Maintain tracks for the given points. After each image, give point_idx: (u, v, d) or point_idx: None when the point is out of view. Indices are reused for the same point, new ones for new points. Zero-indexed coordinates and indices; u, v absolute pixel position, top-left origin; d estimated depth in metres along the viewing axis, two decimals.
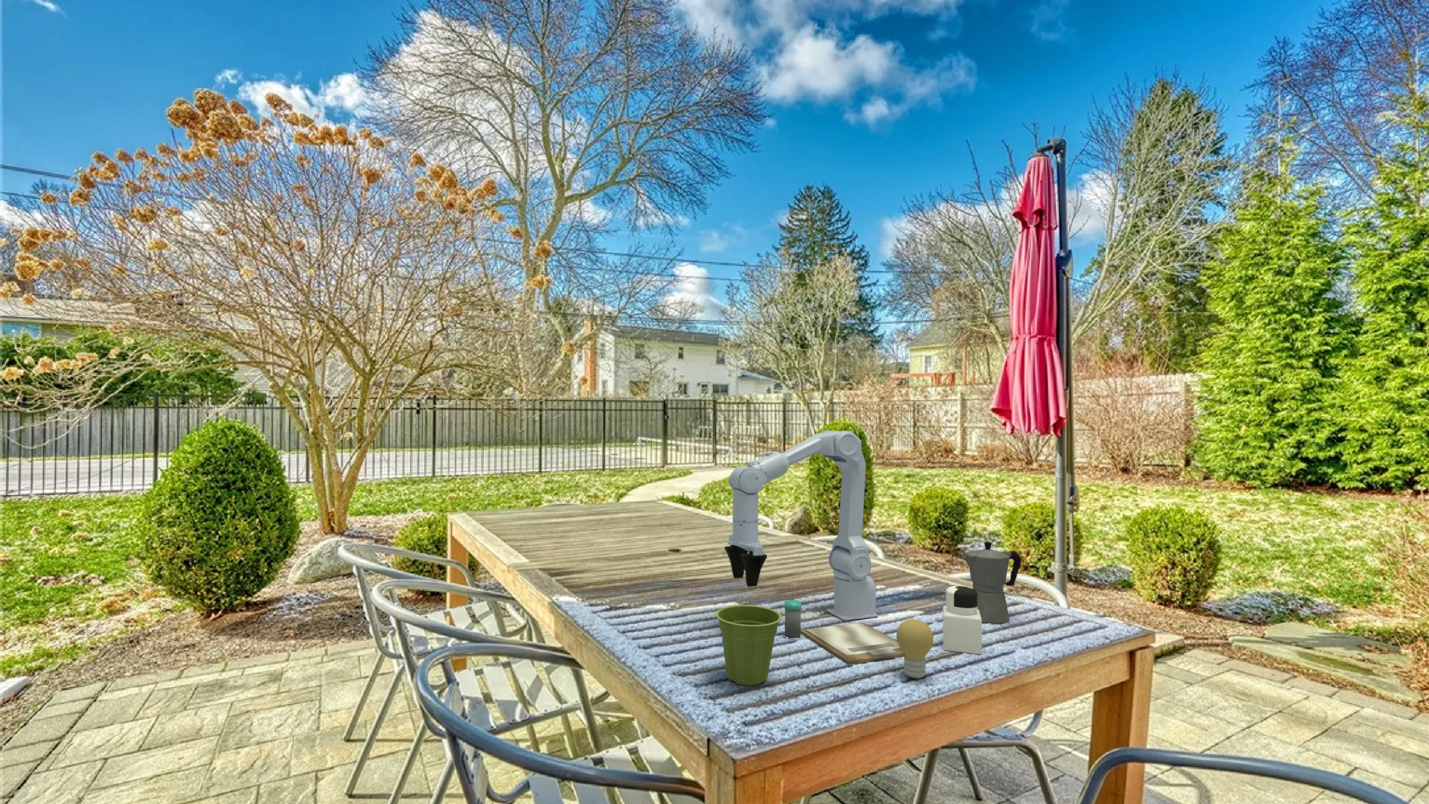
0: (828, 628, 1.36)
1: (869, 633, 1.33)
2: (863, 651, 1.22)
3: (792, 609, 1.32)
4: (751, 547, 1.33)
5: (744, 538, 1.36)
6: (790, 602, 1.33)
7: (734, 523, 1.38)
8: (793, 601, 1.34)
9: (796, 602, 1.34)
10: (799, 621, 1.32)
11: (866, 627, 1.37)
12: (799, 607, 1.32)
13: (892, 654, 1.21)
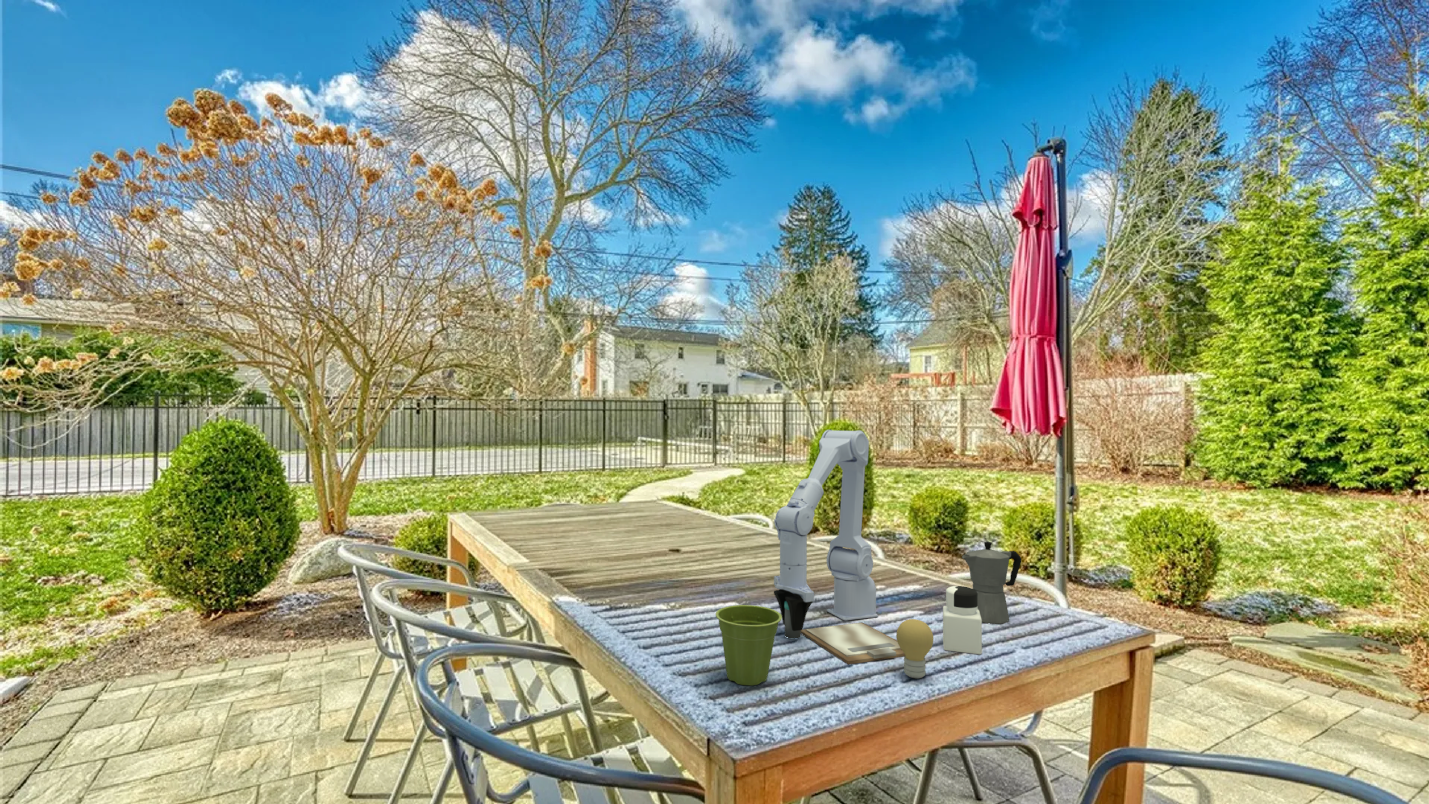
0: (828, 628, 1.36)
1: (869, 633, 1.33)
2: (863, 651, 1.22)
3: None
4: (801, 593, 1.28)
5: (793, 582, 1.31)
6: None
7: (782, 566, 1.32)
8: None
9: None
10: None
11: (866, 627, 1.37)
12: None
13: (892, 654, 1.21)
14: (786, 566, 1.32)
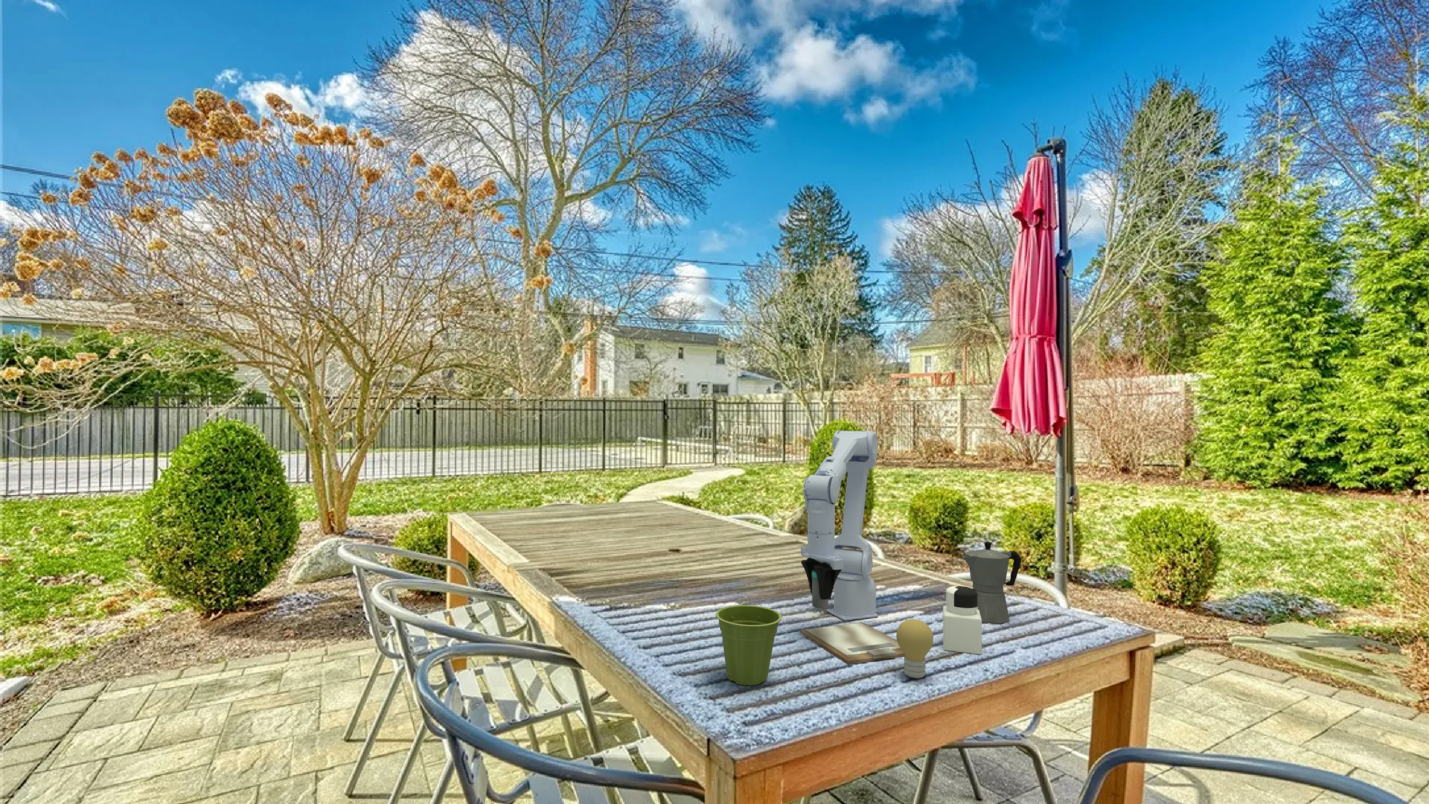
0: (828, 628, 1.36)
1: (869, 633, 1.33)
2: (863, 651, 1.22)
3: None
4: (830, 560, 1.26)
5: (822, 550, 1.30)
6: None
7: (810, 535, 1.31)
8: None
9: None
10: None
11: (866, 627, 1.37)
12: None
13: (892, 654, 1.21)
14: (814, 534, 1.30)
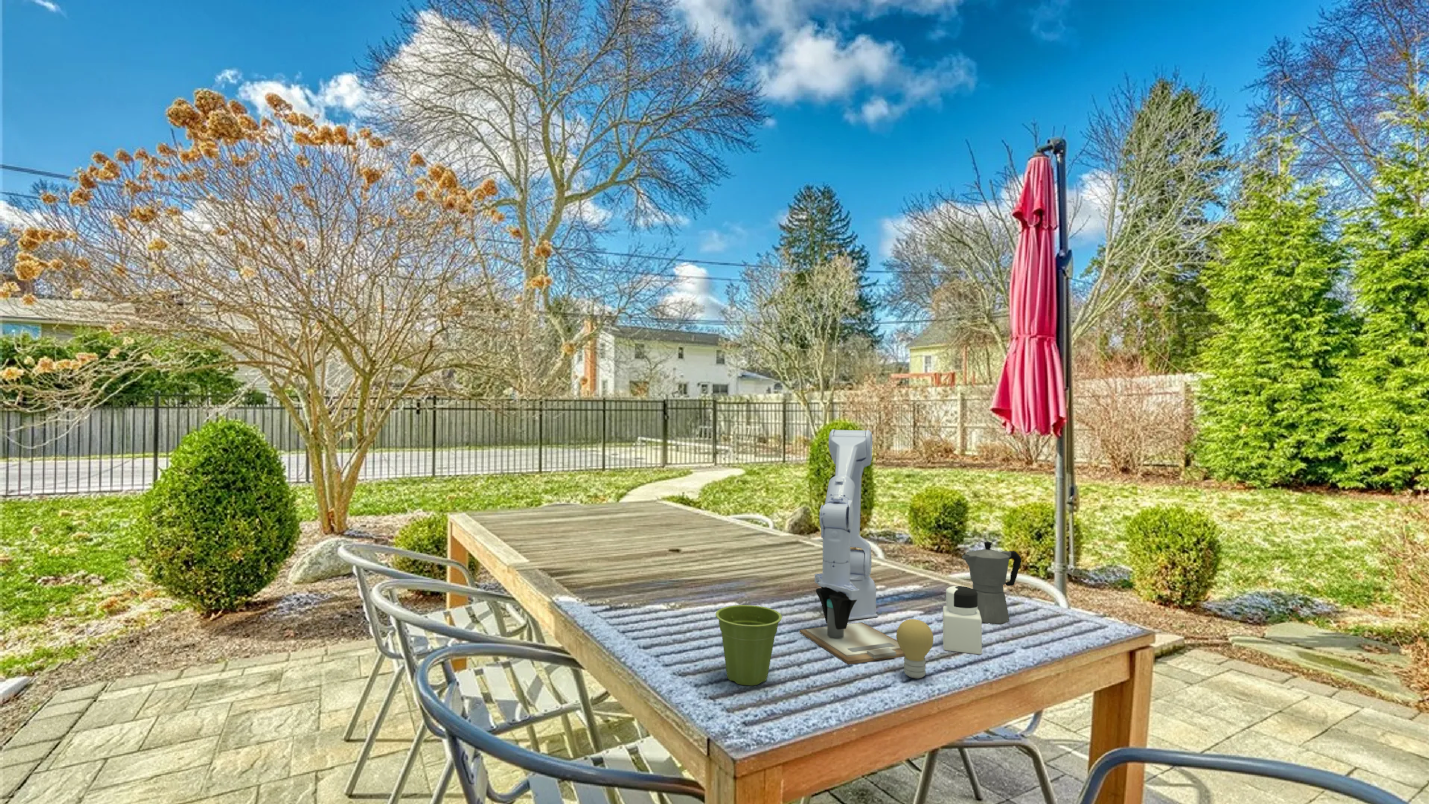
0: None
1: (869, 633, 1.33)
2: (863, 651, 1.22)
3: None
4: (847, 591, 1.25)
5: (837, 580, 1.28)
6: None
7: (825, 563, 1.30)
8: None
9: None
10: None
11: (866, 627, 1.37)
12: None
13: (892, 654, 1.21)
14: (830, 563, 1.29)
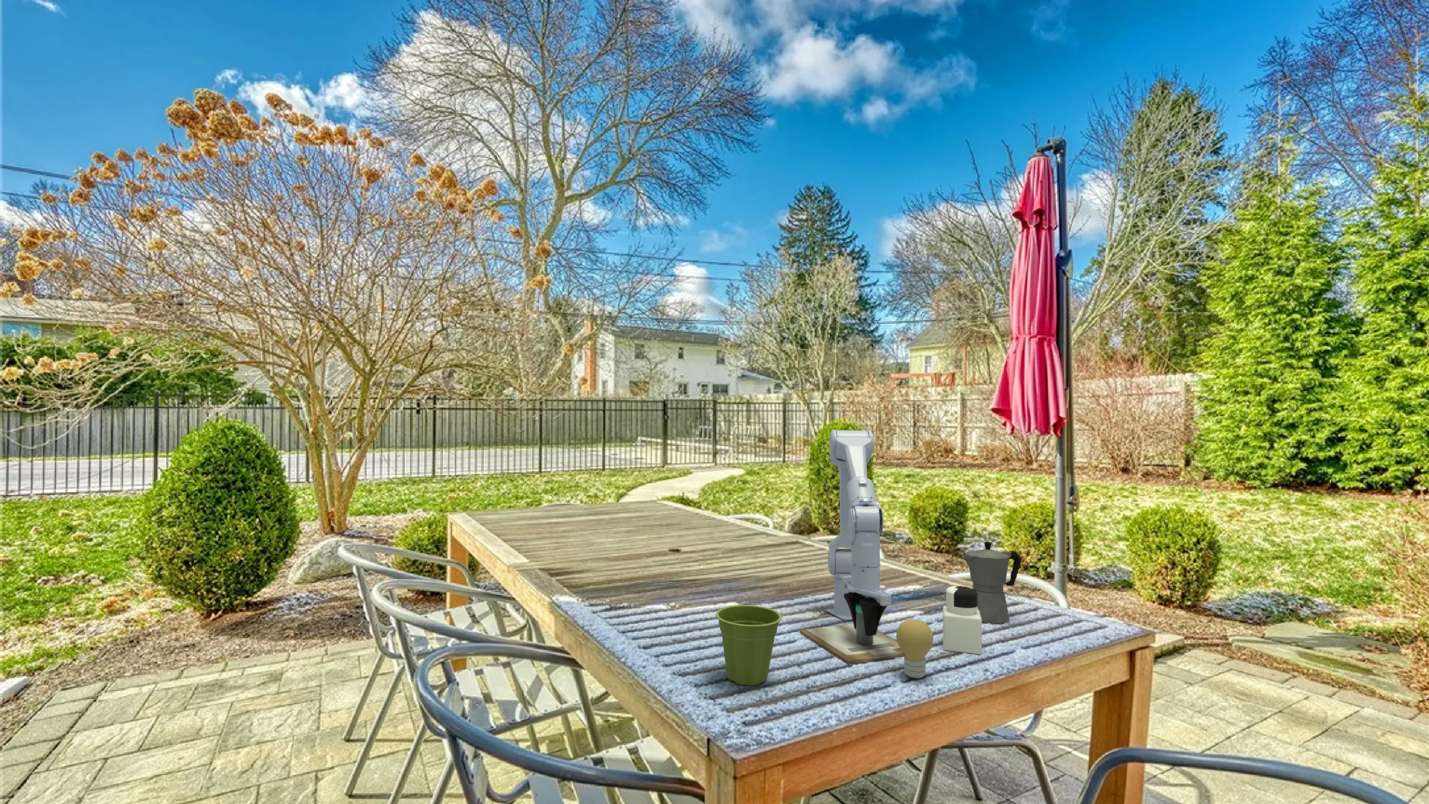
0: (828, 628, 1.36)
1: None
2: (863, 651, 1.22)
3: None
4: (878, 596, 1.21)
5: (867, 584, 1.25)
6: None
7: (854, 568, 1.26)
8: None
9: None
10: None
11: None
12: None
13: (892, 654, 1.21)
14: (859, 568, 1.25)
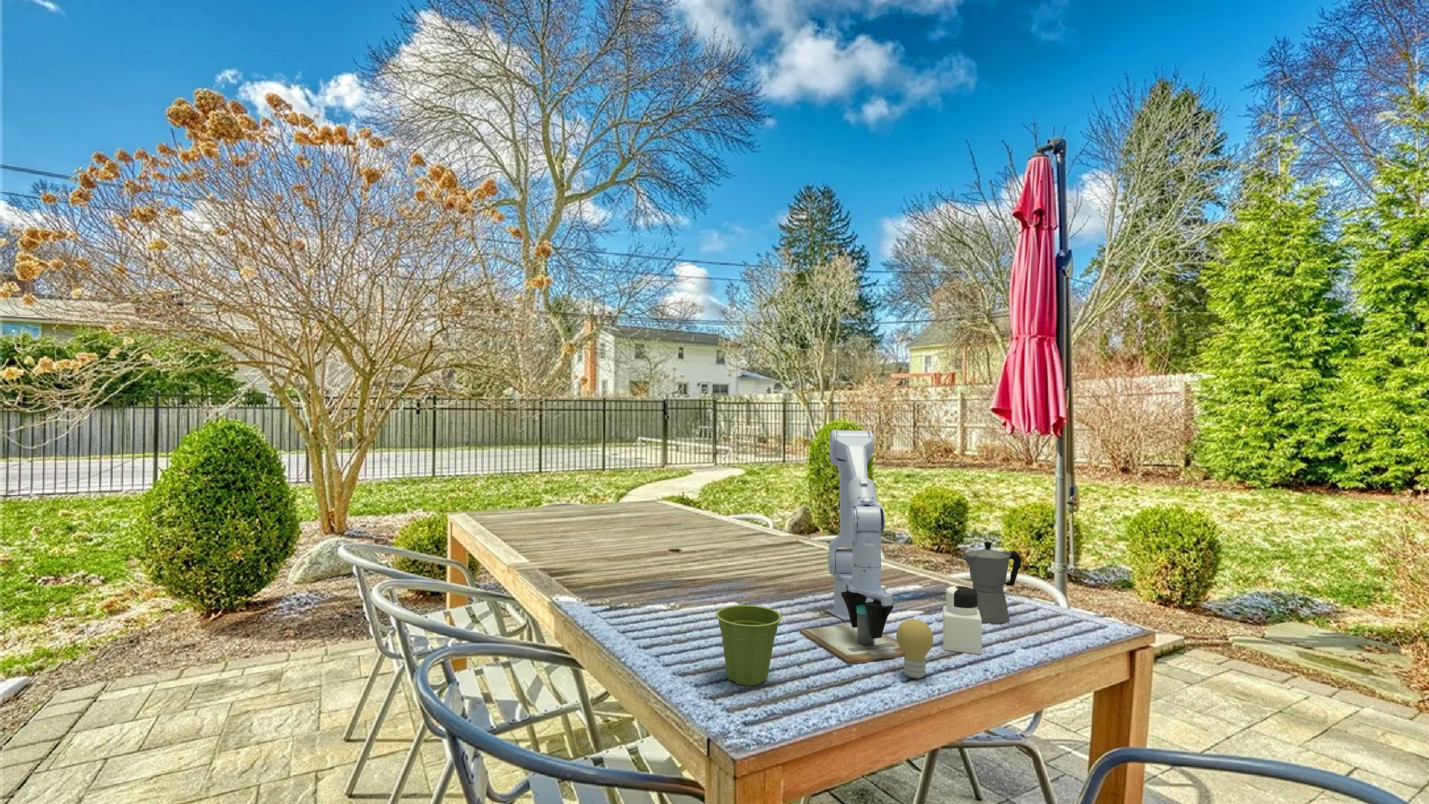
0: (828, 628, 1.36)
1: None
2: (863, 651, 1.22)
3: (865, 614, 1.26)
4: (879, 596, 1.21)
5: (868, 585, 1.25)
6: (862, 607, 1.27)
7: (855, 568, 1.26)
8: None
9: None
10: None
11: None
12: None
13: (892, 654, 1.21)
14: (860, 568, 1.25)
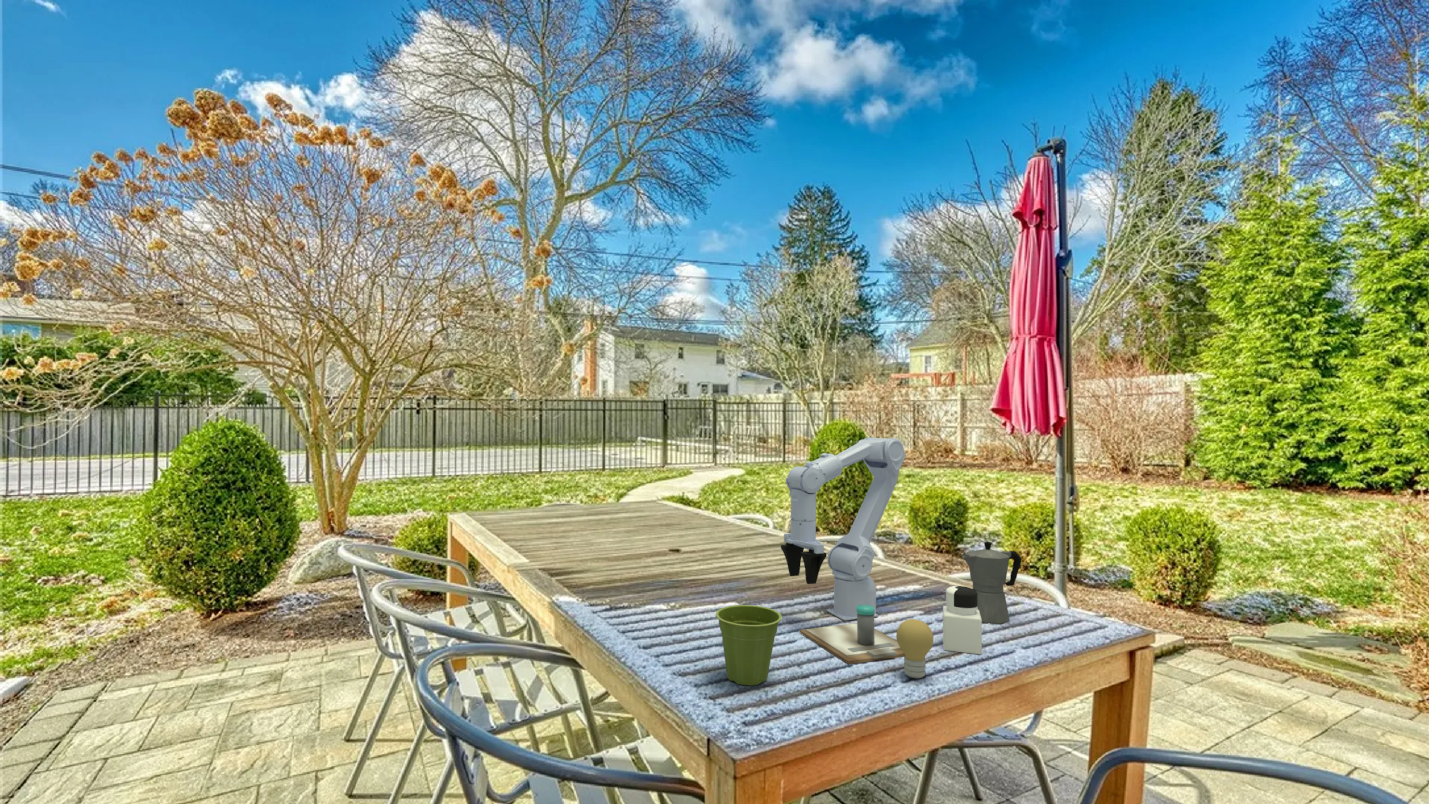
0: (828, 628, 1.36)
1: None
2: (863, 651, 1.22)
3: (865, 614, 1.26)
4: (812, 545, 1.36)
5: (804, 536, 1.40)
6: (862, 607, 1.27)
7: (793, 522, 1.41)
8: (865, 606, 1.28)
9: (868, 606, 1.27)
10: (873, 627, 1.26)
11: None
12: (873, 612, 1.26)
13: (892, 654, 1.21)
14: (797, 522, 1.40)
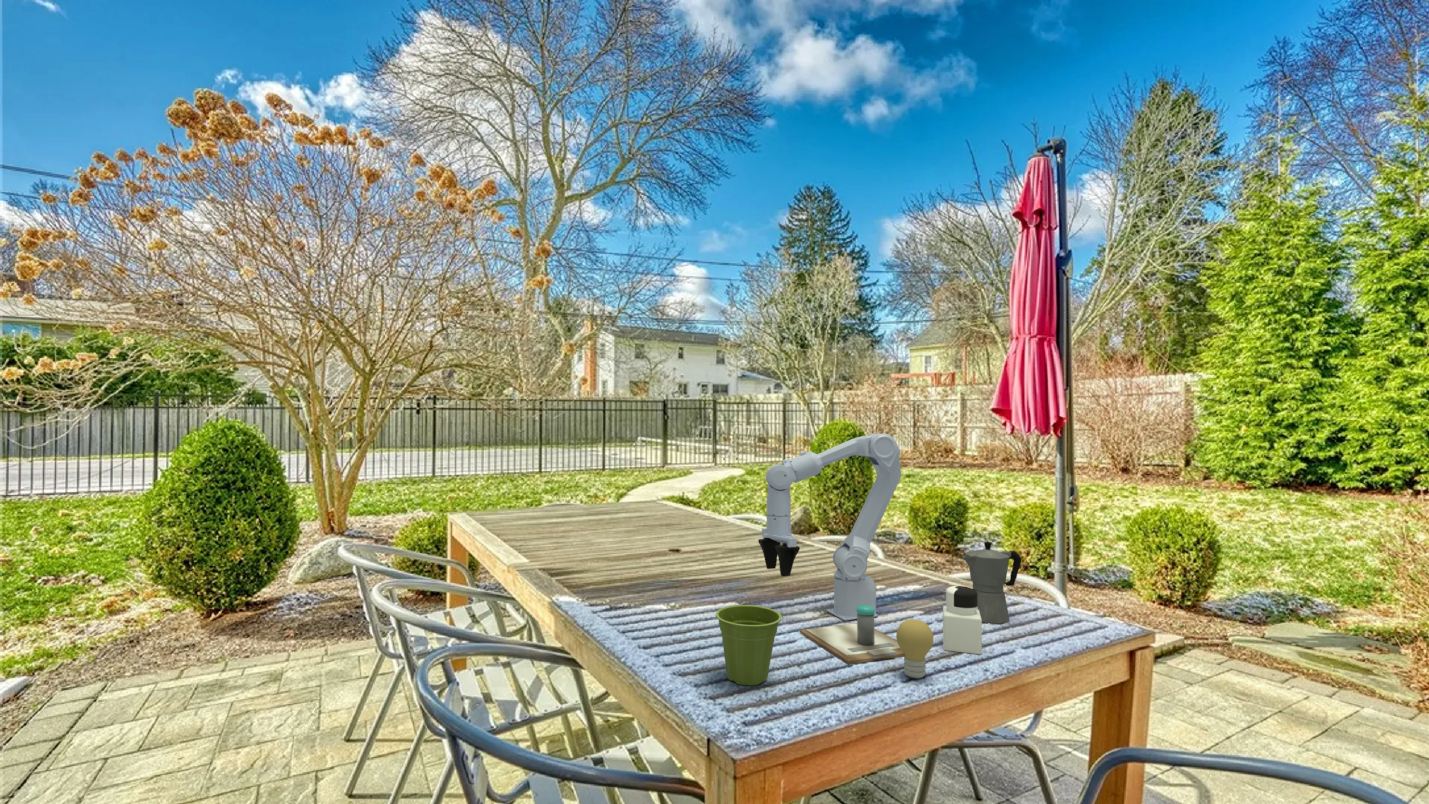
0: (828, 628, 1.36)
1: None
2: (863, 651, 1.22)
3: (865, 614, 1.26)
4: (785, 539, 1.43)
5: (778, 531, 1.47)
6: (862, 607, 1.27)
7: (768, 517, 1.48)
8: (865, 606, 1.28)
9: (868, 606, 1.27)
10: (873, 627, 1.26)
11: None
12: (873, 612, 1.26)
13: (892, 654, 1.21)
14: (772, 517, 1.47)
